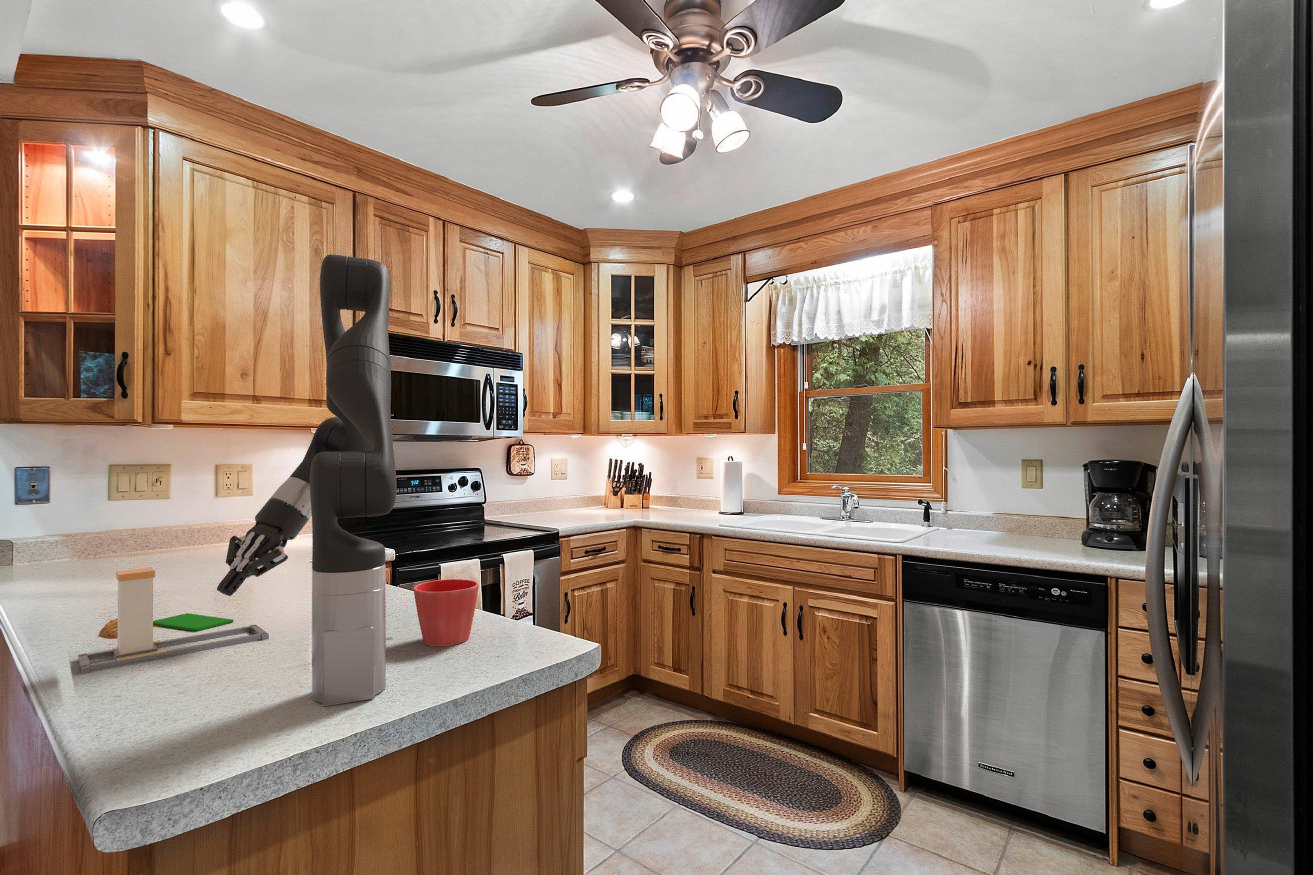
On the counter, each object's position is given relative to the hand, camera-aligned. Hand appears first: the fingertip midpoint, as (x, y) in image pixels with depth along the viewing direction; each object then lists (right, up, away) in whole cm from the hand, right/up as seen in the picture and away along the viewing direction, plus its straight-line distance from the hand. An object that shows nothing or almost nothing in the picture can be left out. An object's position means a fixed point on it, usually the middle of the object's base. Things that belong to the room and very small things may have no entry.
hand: (223, 593), depth 108 cm
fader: (-9, -8, -7) cm, 14 cm away
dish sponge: (-15, -11, +13) cm, 23 cm away
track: (-5, -10, -3) cm, 12 cm away
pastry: (-23, -11, +8) cm, 27 cm away
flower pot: (+36, -10, +5) cm, 38 cm away
